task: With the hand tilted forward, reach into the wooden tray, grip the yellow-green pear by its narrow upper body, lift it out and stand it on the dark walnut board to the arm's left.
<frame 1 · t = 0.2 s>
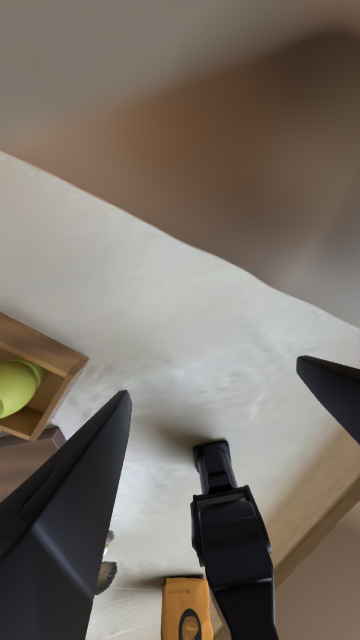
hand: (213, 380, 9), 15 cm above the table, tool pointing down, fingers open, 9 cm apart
wooden tray: (29, 370, 24), on the table
pear: (25, 372, 23), point 1 cm above the table, touching wooden tray
coffee package: (184, 580, 45), on the table
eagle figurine: (101, 540, 38), on the table
walnut board: (18, 466, 29), on the table
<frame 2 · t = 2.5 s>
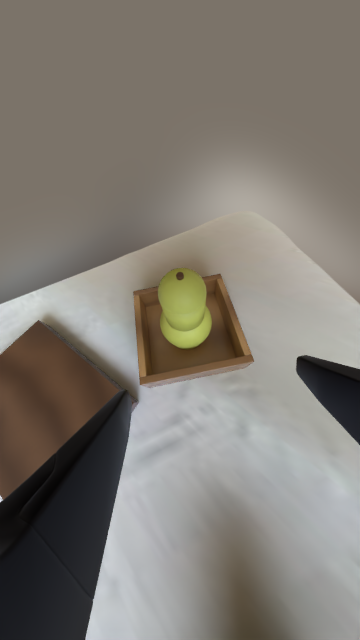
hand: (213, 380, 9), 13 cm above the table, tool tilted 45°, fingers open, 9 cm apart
wooden tray: (187, 333, 24), on the table
pear: (187, 332, 24), point 1 cm above the table, touching wooden tray
walnut board: (47, 403, 22), on the table
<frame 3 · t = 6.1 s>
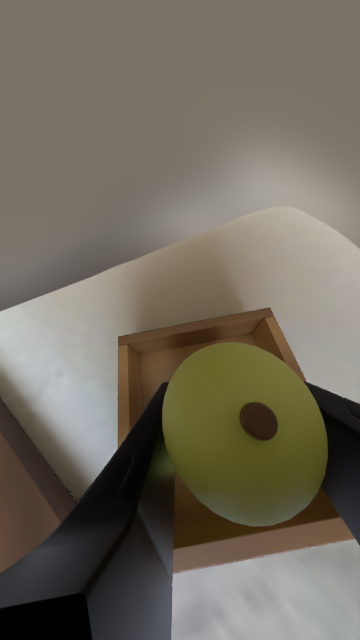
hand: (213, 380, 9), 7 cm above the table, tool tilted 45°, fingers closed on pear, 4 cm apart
wooden tray: (209, 407, 14), on the table
pear: (210, 407, 14), point 1 cm above the table, touching wooden tray, gripper
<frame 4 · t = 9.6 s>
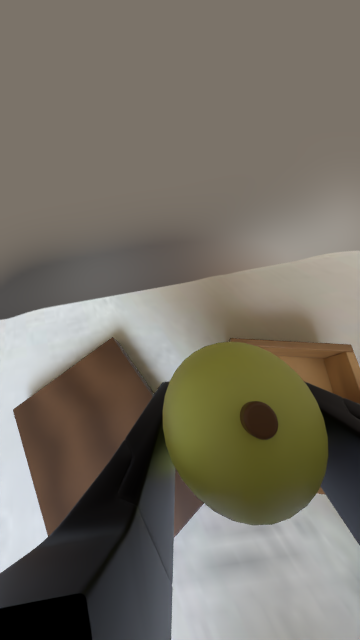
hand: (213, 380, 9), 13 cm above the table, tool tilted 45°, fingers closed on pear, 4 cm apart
wooden tray: (281, 403, 19), on the table
pear: (210, 407, 14), point 7 cm above the table, touching gripper
walnut board: (108, 440, 19), on the table
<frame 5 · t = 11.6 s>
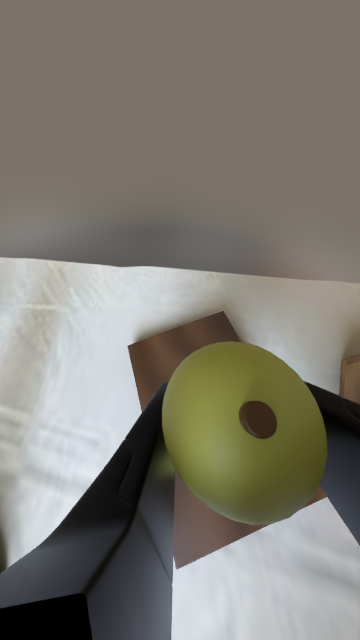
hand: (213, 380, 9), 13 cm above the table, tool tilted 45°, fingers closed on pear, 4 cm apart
pear: (210, 406, 14), point 7 cm above the table, touching gripper
walnut board: (205, 404, 20), on the table
when the fingers open (8 cm above the table, at t = 13.4 s): pear stays where it is, resting on walnut board.
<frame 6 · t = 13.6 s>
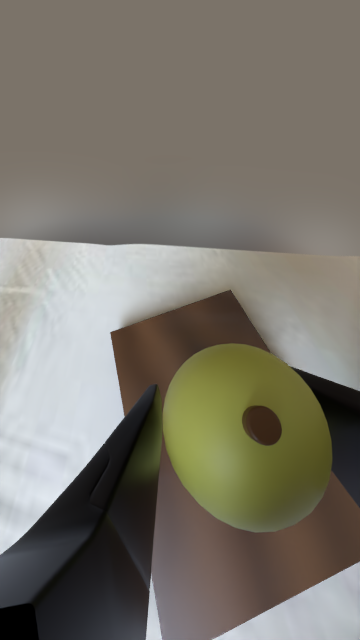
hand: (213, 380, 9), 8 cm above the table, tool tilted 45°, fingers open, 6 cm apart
pear: (210, 408, 14), point 2 cm above the table, touching walnut board
walnut board: (208, 407, 15), on the table
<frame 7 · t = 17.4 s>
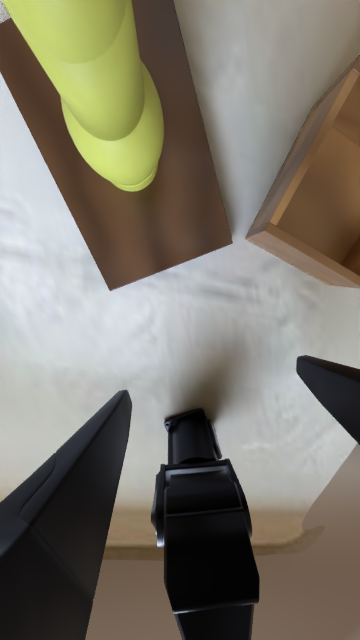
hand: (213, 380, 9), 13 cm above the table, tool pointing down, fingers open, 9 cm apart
wooden tray: (321, 208, 18), on the table
pear: (129, 157, 15), point 2 cm above the table, touching walnut board
walnut board: (133, 168, 16), on the table
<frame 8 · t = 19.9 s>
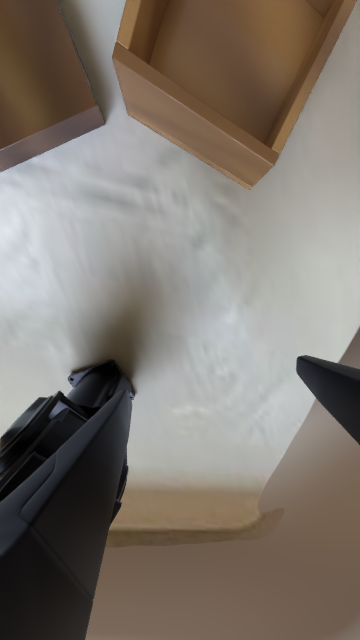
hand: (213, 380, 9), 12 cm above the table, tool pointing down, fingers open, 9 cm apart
wooden tray: (225, 70, 14), on the table
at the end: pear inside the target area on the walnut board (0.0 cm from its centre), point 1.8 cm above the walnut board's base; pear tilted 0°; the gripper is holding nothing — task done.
